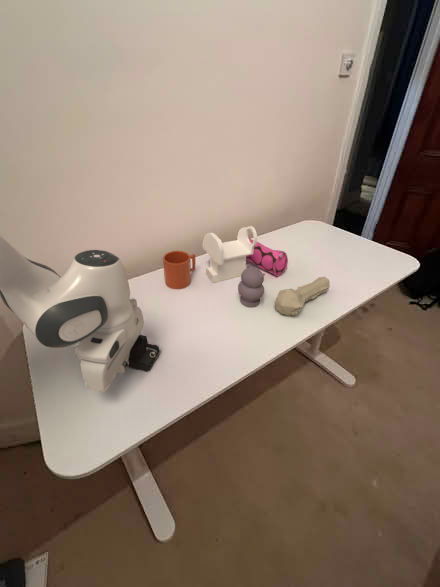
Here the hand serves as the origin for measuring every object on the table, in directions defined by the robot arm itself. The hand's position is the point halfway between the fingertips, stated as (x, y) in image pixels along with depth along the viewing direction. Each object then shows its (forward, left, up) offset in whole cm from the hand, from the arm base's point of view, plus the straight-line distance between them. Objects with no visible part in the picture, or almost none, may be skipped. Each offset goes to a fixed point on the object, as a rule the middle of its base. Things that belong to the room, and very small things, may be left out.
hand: (123, 368), depth 70 cm
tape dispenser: (+49, +15, -3) cm, 51 cm away
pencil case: (+63, +13, -3) cm, 64 cm away
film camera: (+5, +4, -3) cm, 7 cm away
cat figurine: (+44, 0, -3) cm, 44 cm away
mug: (+34, +23, -3) cm, 42 cm away
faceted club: (+57, -12, -3) cm, 58 cm away
